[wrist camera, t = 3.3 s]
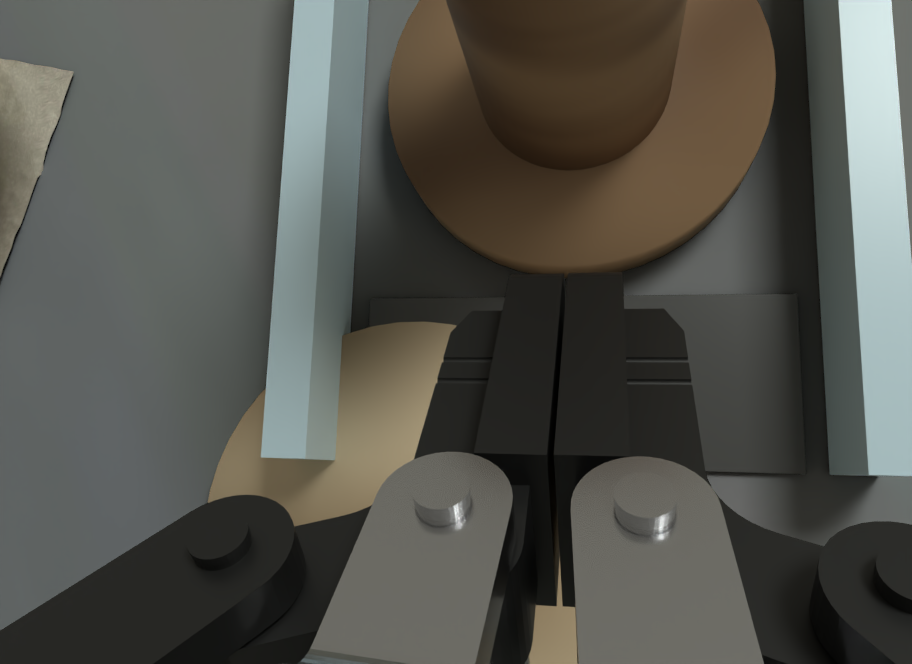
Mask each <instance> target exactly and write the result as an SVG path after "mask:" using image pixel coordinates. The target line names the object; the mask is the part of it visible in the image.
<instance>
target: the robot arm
mask: <svg viewBox="0 0 912 664" xmlns="http://www.w3.org/2000/svg"><path fill="white" fill-rule="evenodd" d="M559 558H560V570H561V587H562V604H563V606H564V607H575V616H576V639H577V664H912V525H909V524H905V523H897V522H868V523H861V524H857V525H854V526H850V527H848V528H846V529H844V530H842V531H840V532H838V533H837V534H835V535H834V536H833V537H832V538H830V539H829V541H828V542H827V543H826V545H825V546H824V547H823V546H820V545H816V544H813V543H809V542H806V541H803V540H799V539H796V538H792V537H789V536H785V535H782V534H779V533H776V532H773V531H770V530H767V529H764V528H762V527H760V526H758V525H756V524H753V523H751V522H750V521H748V520H746V519H745V518H743V517H741V516H740V515H738V514H737V513H736V512H734V511H733V510H732V509H730V508H729V507H728V506H727V505H726V504H725V503H724V502H723V501H722V500H721V499H720V498H719V497H718V495H717V494H716V493H715V491H714V490H713V489H712V487H711V485H710V483H709V481H708V479H707V475H706V471H705V466H704V459H703V452H702V446H701V439H700V433H699V426H698V419H697V413H696V406H695V399H694V393H693V386H692V384H691V373H690V366H689V363H688V353H687V346H686V340H685V333H684V330H683V329H682V328H681V327H680V326H679V325H678V323H677V322H676V321H675V320H674V319H673V318H672V317H671V316H670V315H669V313H668V312H667V311H666V310H665V309H664V308H661V309H624V293H623V272H595V273H568V277H567V290H566V296H565V279H564V274H563V273H556V274H511V275H510V276H509V279H508V284H507V289H506V294H505V299H504V304H503V309H502V310H501V311H471V312H470V313H469V314H468V315H467V316H466V317H465V318H464V319H463V320H462V321H461V322H460V323H459V324H458V325H457V326H456V327H455V328H454V329H453V330H452V331H451V333H450V336H449V339H448V343H447V346H446V350H445V353H444V357H443V362H442V364H441V367H440V371H439V374H438V377H437V383H436V384H435V388H434V391H433V395H432V398H431V402H430V405H429V408H428V412H427V415H426V419H425V422H424V426H423V429H422V433H421V436H420V439H419V443H418V446H417V450H416V453H415V457H414V460H412V461H410V462H408V463H406V464H404V465H403V466H401V467H400V468H398V469H397V470H395V471H394V472H393V473H392V474H391V475H390V476H389V477H388V478H387V479H386V480H385V481H384V483H383V484H382V485H381V487H380V489H379V491H378V493H377V495H376V497H375V499H374V502H373V504H372V505H371V506H369V507H367V508H365V509H362V510H360V511H357V512H354V513H351V514H347V515H343V516H339V517H335V518H330V519H326V520H321V521H317V522H312V523H308V524H303V525H299V526H294V523H293V521H292V519H291V516H290V514H289V513H288V512H287V510H286V509H285V508H284V507H283V506H282V505H280V504H279V503H278V502H276V501H274V500H272V499H269V498H266V497H262V496H258V495H235V496H230V497H224V498H221V499H218V500H214V501H212V502H209V503H207V504H205V505H202V506H200V507H198V508H197V509H195V510H193V511H191V512H189V513H188V514H186V515H185V516H183V517H181V518H180V519H178V520H177V521H175V522H173V523H172V524H170V525H169V526H167V527H165V528H164V529H162V530H161V531H159V532H157V533H156V534H154V535H153V536H151V537H149V538H148V539H146V540H145V541H143V542H141V543H140V544H138V545H137V546H135V547H133V548H132V549H130V550H129V551H127V552H125V553H124V554H122V555H121V556H119V557H117V558H116V559H114V560H113V561H111V562H109V563H108V564H106V565H105V566H103V567H101V568H100V569H98V570H97V571H95V572H93V573H92V574H90V575H89V576H87V577H85V578H84V579H82V580H81V581H79V582H77V583H76V584H74V585H73V586H71V587H69V588H68V589H66V590H65V591H63V592H61V593H60V594H58V595H57V596H55V597H53V598H52V599H50V600H49V601H47V602H45V603H44V604H42V605H41V606H39V607H37V608H36V609H34V610H33V611H31V612H29V613H28V614H26V615H25V616H23V617H21V618H20V619H18V620H17V621H15V622H13V623H12V624H10V625H9V626H7V627H5V628H4V629H2V630H1V631H0V664H530V660H529V654H530V651H531V647H532V642H533V632H534V620H535V608H536V605H542V606H557V592H558V575H559Z"/></svg>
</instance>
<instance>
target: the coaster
mask: <svg viewBox="0 0 912 664" xmlns="http://www.w3.org/2000/svg"><path fill="white" fill-rule="evenodd" d="M455 327H456V325H452V324H443V323H434V322H397V323H391V324H384V325H378V326H372V327H369V328H365V329H362V330H358V331H355V332H352V333H348V334H345V335H343V336H342V349H341V366H340V384H339V402H338V419H337V437H336V454H335V460H308V459H282V458H262V457H261V448H262V434H263V421H264V407H265V394H266V389H265V390H264V391H263V392H262V393H261V394H260V395H259V396H258V397H257V399H256V400H255V401H254V402H253V404H252V405H251V406H250V408H249V409H248V410H247V412H246V413H245V414H244V415H243V417H242V419H241V420H240V422H239V424H238V425H237V427H236V429H235V431H234V432H233V434H232V436H231V437H230V439H229V441H228V443H227V446H226V448H225V450H224V452H223V455H222V457H221V459H220V461H219V464H218V466H217V470H216V473H215V476H214V479H213V483H212V486H211V489H210V493H209V499H208V503H209V502H212V501H214V500H218V499H221V498H224V497H230V496H235V495H258V496H262V497H266V498H269V499H272V500H274V501H276V502H278V503H279V504H280V505H282V506H283V507H284V508H285V509H286V510H287V512H288V513H289V514H290V516H291V519H292V521H293V523H294V526H299V525H303V524H308V523H312V522H317V521H321V520H326V519H330V518H335V517H339V516H343V515H347V514H351V513H354V512H357V511H360V510H362V509H365V508H367V507H369V506H371V505H372V504H373V502H374V499H375V497H376V495H377V493H378V491H379V489H380V487H381V485H382V484H383V483H384V481H385V480H386V479H387V478H388V477H389V476H390V475H391V474H392V473H393V472H394V471H395V470H397V469H398V468H400V467H401V466H403V465H404V464H406V463H408V462H410V461H412V460H414V457H415V453H416V450H417V446H418V443H419V439H420V436H421V433H422V429H423V426H424V422H425V419H426V415H427V412H428V408H429V405H430V402H431V398H432V395H433V391H434V388H435V384H436V383H437V377H438V374H439V371H440V367H441V364H442V362H443V357H444V353H445V350H446V346H447V343H448V339H449V336H450V333H451V331H452V330H453V329H454V328H455ZM529 660H530V664H577V639H576V616H575V607H564V606H563V604H562V587H561V570H560V558H559V575H558V592H557V606H542V605H536V608H535V620H534V632H533V642H532V647H531V651H530V654H529Z"/></svg>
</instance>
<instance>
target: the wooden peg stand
mask: <svg viewBox="0 0 912 664" xmlns="http://www.w3.org/2000/svg"><path fill="white" fill-rule="evenodd" d="M775 81H776V69H775V56H774V48H773V44H772V39H771V35H770V31H769V27H768V24H767V22H766V19H765V17H764V14H763V12H762V9H761V7H760V5H759V3H758V1H757V0H420V1H419V2H418V4H417V6H416V7H415V9H414V11H413V12H412V14H411V16H410V17H409V19H408V21H407V23H406V25H405V28H404V30H403V32H402V34H401V37H400V39H399V41H398V45H397V48H396V51H395V55H394V58H393V61H392V67H391V73H390V79H389V91H388V110H389V119H390V128H391V132H392V136H393V140H394V144H395V148H396V151H397V153H398V156H399V158H400V161H401V163H402V165H403V168H404V170H405V172H406V174H407V175H408V177H409V179H410V180H411V182H412V184H413V186H414V187H415V189H416V191H417V192H418V194H419V195H420V197H421V198H422V200H423V201H424V203H425V204H426V206H427V207H428V209H429V210H430V211H431V212H432V214H433V215H434V216H435V217H436V219H437V220H438V221H439V222H440V224H441V225H442V226H443V227H445V228H446V229H447V230H448V231H449V232H450V233H451V234H452V235H453V236H454V237H455V238H456V239H457V240H459V241H460V242H462V243H463V244H465V245H466V246H467V247H469V248H470V249H472V250H473V251H474V252H476V253H478V254H480V255H482V256H484V257H486V258H487V259H489V260H491V261H493V262H495V263H498V264H500V265H503V266H506V267H509V268H511V269H514V270H517V271H521V272H525V273H530V274H556V273H563V274H564V278H567V277H568V273H595V272H622V271H625V270H629V269H632V268H635V267H639V266H642V265H644V264H646V263H648V262H651V261H653V260H655V259H658V258H660V257H662V256H664V255H666V254H667V253H669V252H671V251H673V250H674V249H676V248H678V247H679V246H681V245H683V244H684V243H686V242H687V241H688V240H690V239H691V238H692V237H693V236H695V235H696V234H697V233H699V232H700V231H701V230H702V229H704V228H705V227H706V226H707V225H708V224H709V223H710V222H711V221H712V220H713V219H714V218H715V217H716V216H717V215H718V214H719V213H720V212H721V211H722V210H723V208H724V207H725V206H726V204H727V203H728V202H729V200H730V199H731V198H732V196H733V195H734V194H735V192H736V191H737V190H738V188H739V186H740V184H741V182H742V181H743V179H744V177H745V175H746V173H747V172H748V170H749V168H750V166H751V164H752V162H753V160H754V158H755V156H756V154H757V152H758V149H759V147H760V145H761V142H762V140H763V137H764V134H765V132H766V129H767V127H768V124H769V120H770V115H771V111H772V106H773V102H774V94H775Z"/></svg>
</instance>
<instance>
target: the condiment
mask: <svg viewBox="0 0 912 664" xmlns="http://www.w3.org/2000/svg"><path fill="white" fill-rule="evenodd" d="M73 73H74V72H72V71H66V70H60V69H56V68H52V67H47V66H40V65H32V64H27V63H24V62H20V61H15V60H4V59H0V277H1V274H2V270H3V267H4V264H5V262H6V260H7V258H8V255H9V252H10V250H11V248H12V244H13V241H14V237H15V235H16V233H17V231H18V229H19V227H20V226H21V223H22V220H23V218H24V215H25V212H26V209H27V206H28V203H29V201H30V197H31V194H32V192H33V189H34V185H35V183H36V180H37V178H38V177H39V176H40V175H41V173H42V171H43V162H44V158H45V153H46V150H47V147H48V144H49V141H50V138H51V135H52V133H53V131H54V129H55V127H56V125H57V122H58V119H59V117H60V114H61V107H62V104H63V101H64V98H65V95H66V92H67V89H68V86H69V83H70V81H71V78H72V75H73Z"/></svg>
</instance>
